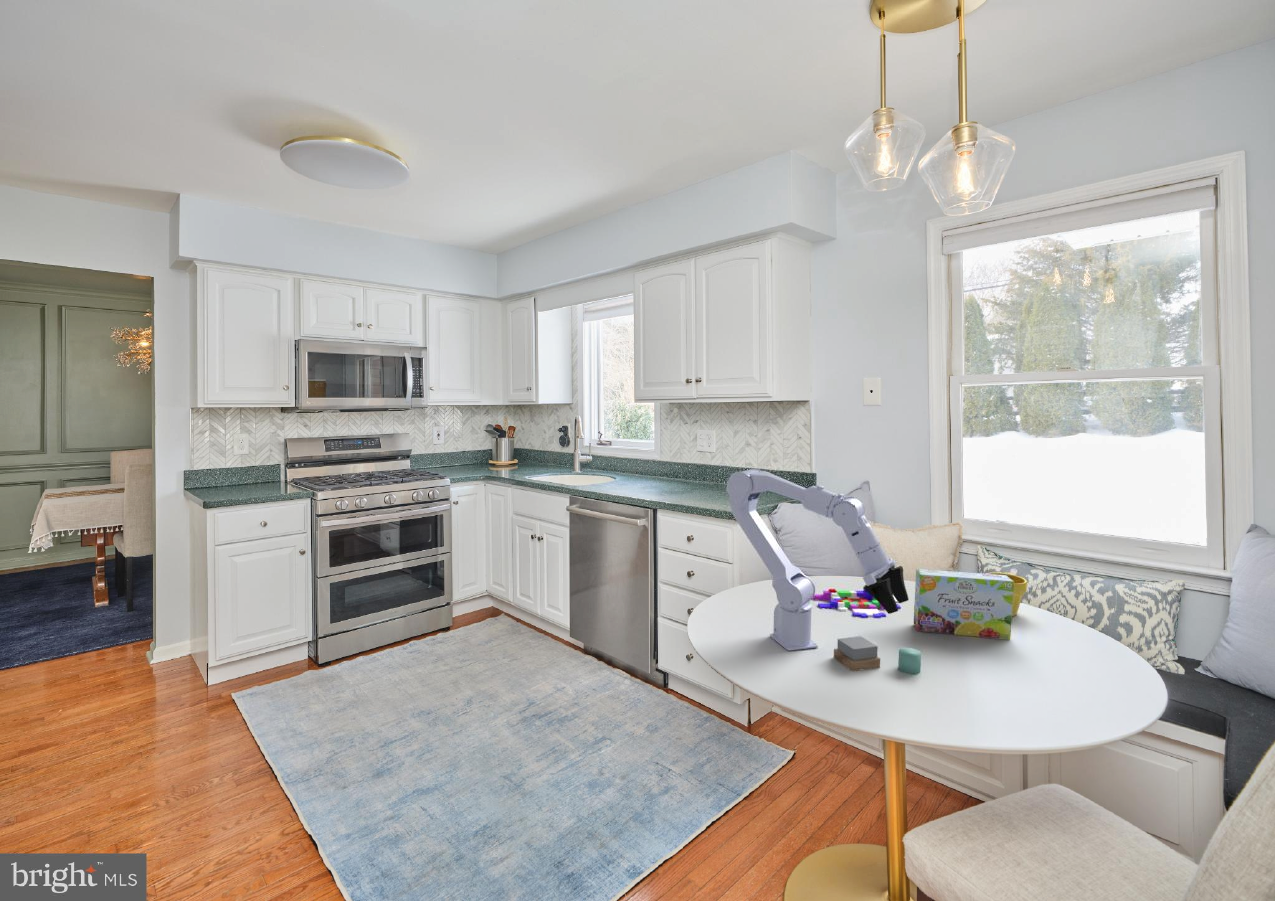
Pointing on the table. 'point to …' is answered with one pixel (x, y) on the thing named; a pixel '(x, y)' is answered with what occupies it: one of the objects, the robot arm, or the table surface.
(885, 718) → the table surface
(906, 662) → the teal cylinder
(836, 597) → the building block set
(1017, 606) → the plant pot
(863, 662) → the walnut base block
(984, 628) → the snack box
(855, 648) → the grey top block
